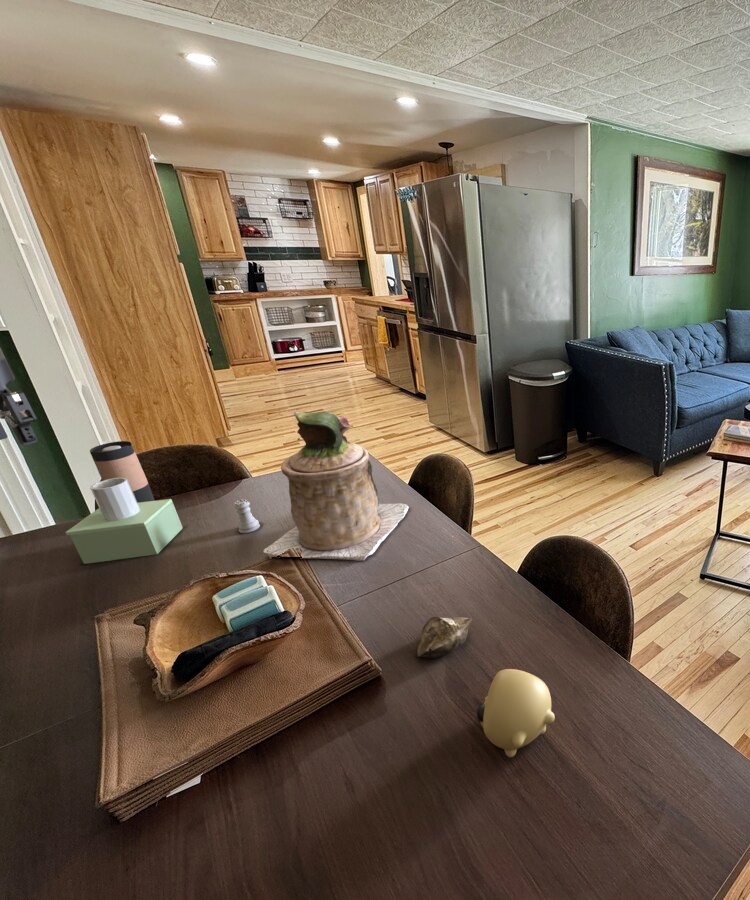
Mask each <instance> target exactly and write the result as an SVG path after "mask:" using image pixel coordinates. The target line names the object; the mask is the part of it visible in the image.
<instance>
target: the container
mask: <svg viewBox="0 0 750 900" xmlns="http://www.w3.org/2000/svg"><path fill="white" fill-rule="evenodd" d="M183 528H184V527H183V525H182V522H181V520H180V517H179V515H178V512H177V510H176V507H175V505H174V502H173V501H172V502H171V503H170V504H169V505H168V506H167V507H166V508H165V509H164V510H162V511H161V512H160V513H159V514H158V515H157V516H156V517H155V518H153V519H152V520H151V521H150V522H149V523H148V524H147V525H146V526H140V527H132V528H123V529H115V530H107V531H99V532H91V533H83V534H75V535H69V537H70V539H71V541H72V542H73V545H74V547H75V549H76V551H77V553H78V555H79V557H80V559H81V561H82V563H83V565H85V564H94V563H101V562H110V561H116V560H117V561H118V560H126V559H131V558H139V557H146V556H147V557H148V556H154V555H158V554H159V553H160V552H161V551H163V550H164V548H165V547H166V546H167V545H168V544H169V543H170V542H171V541H173V539H174V538H175V537H176V536H177V535H178V534H179V533H180V532H181V531H182V530H183Z"/></svg>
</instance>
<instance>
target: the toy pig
mask: <svg viewBox="0 0 750 900" xmlns="http://www.w3.org/2000/svg"><path fill="white" fill-rule="evenodd" d="M476 716H477V719H478V721H479V722H480V725H481V727H482V728H483V733H484V736H485V738H486V739H488V741H489V742H490V743H492V744H493V745H494V746H496V747H498V748H500V749H503V750H504V753H505V755H506V756H507V757H508V758H513V757H515V755H516V754H517V750H518V749H522V748H523V747H525V746H527V745H529V744H530V743H532V742H533V741H534V740H536V739H537V738H538V737H539V735H544V734H545V733H546V731H547V725H550V724H552V723H554V721H555V719H556V717H555V713H554V712H553V711H552V697H551V692H550V689H549V687H548V686H547V684H546V683H545V681H543V680H542V679H540V677H538V676H536V675H534V674H532V673H529V672H527V671H524V670H520V669H516V668H506V669H505V668H504V669H501V670H499V671H498V672H497V673H496V674H495V676H494V678H493V680H492V681H491V684H490V686H489V690H488V692H487V696H485V697H484V702H483V703H481V704H480V706H479V707H478V708H477V711H476Z"/></svg>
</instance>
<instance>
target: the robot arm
mask: <svg viewBox="0 0 750 900" xmlns="http://www.w3.org/2000/svg"><path fill="white" fill-rule="evenodd" d="M15 380H16V378H15V375H14V373H13V371H12V369H11V367H10V365H9V363H8V360H7V358H6V356H5V355H4V353H3V350H2V348H1V347H0V419H2V420H5V421H6V422H7V423H8V424H9V425H10V426H11V427H12V430H13V432H14V434H15V436H16V438H17V440H18V442H19V444H20V445H21V446H31V445H33V444H36V443H38V441H39V439H38V437H37V436H36V433H35V430H34V429H33V426H32V425H31V424H33V423H35V422H37V421H38V417H37V416H36V414H35V412H34V410H33V408H32V406H31V404H30V402H29V401H28V398H27V396H26V395H25V393H24V392H23V391H22V390H18V391H11V390H10V389H9V388H8V386H7V385H8V384H10V383H13V382H14V381H15ZM7 438H8V434H7V432H6V430H5V428H4V425H2V422H1V421H0V441H1V440H6V439H7Z"/></svg>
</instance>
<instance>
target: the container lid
mask: <svg viewBox="0 0 750 900" xmlns="http://www.w3.org/2000/svg"><path fill="white" fill-rule="evenodd" d="M171 502H173V500H172V499H171V498H167V499H159V500H155V501H149V502H140V503H138V505H139V508H140V511H139V512H138V513H137V514H135V515H133V516H131V517H128V518H125V519H122V520H117V521H107V520H105V518H104V517H103V515H102V512H101V510H100V508H99V507H98V508H97V509H95V510H94V511H93V512H92V513H90V514H89V515H87V516H86V517H84V518H83V519H81V521H79V522H78V523H76V524H75V525H73V526H72V527H70V528H69V529H68V530H66V531H65V535H66V536H70V535H75V534H83V533H91V532H99V531H107V530H115V529H123V528H132V527H140V526H146V525H147V524H148V523H149V522H150V521H151V520H152V519H153V518H155V517H156V516H157V515H158V514H159V513H160V512H161V511H162V510H164V509H165V508H166V507H167V506H168V505H169V504H170V503H171Z"/></svg>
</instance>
